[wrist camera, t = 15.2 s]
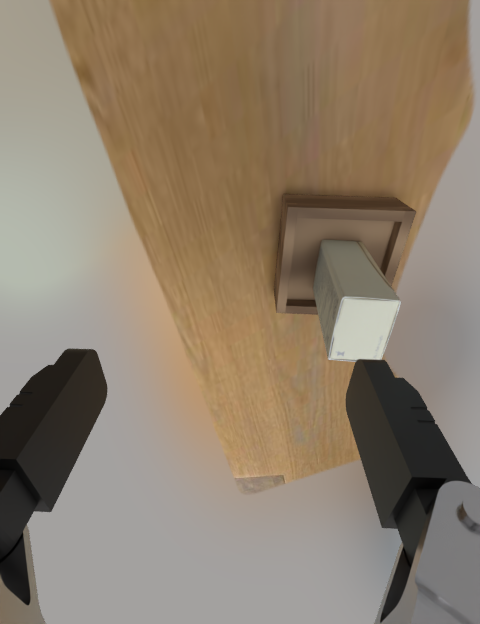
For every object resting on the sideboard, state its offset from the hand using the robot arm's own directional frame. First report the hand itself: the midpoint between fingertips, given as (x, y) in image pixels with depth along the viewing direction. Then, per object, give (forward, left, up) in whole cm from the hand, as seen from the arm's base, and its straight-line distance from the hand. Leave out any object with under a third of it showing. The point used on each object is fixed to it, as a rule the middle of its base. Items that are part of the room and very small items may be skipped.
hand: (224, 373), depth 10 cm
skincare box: (+7, +10, -25) cm, 28 cm away
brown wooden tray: (+7, +10, -29) cm, 31 cm away
